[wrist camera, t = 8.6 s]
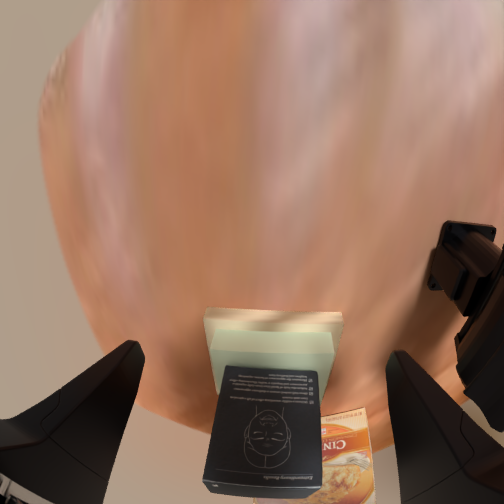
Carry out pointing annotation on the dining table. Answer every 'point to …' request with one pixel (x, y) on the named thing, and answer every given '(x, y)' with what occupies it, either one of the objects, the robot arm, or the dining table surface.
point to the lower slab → (272, 324)
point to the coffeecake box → (342, 463)
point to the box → (266, 435)
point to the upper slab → (273, 352)
